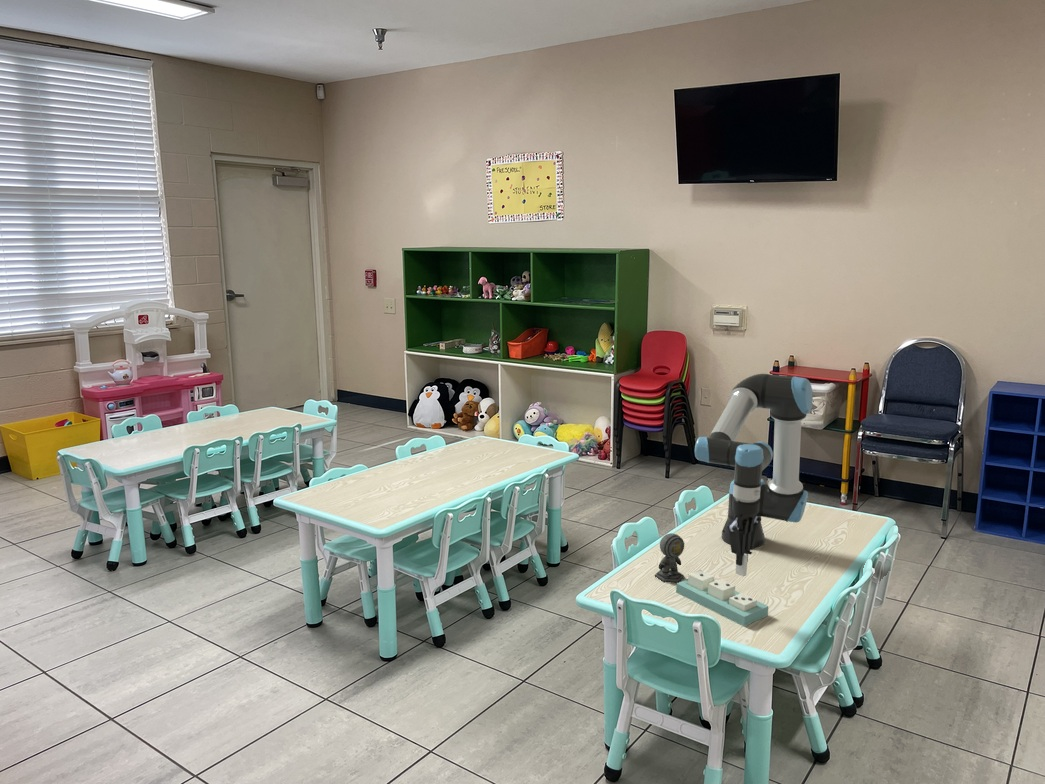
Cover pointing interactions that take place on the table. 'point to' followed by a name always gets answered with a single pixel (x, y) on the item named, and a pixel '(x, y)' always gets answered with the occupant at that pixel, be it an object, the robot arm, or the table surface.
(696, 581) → the tile
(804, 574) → the table surface
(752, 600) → the tile
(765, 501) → the robot arm
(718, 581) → the tile
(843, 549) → the table surface
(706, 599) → the board
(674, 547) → the figurine
